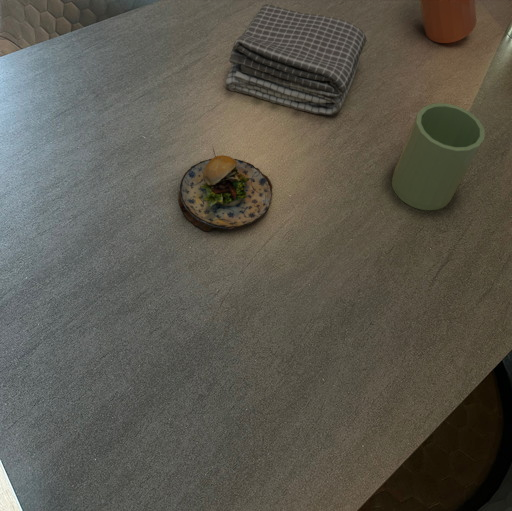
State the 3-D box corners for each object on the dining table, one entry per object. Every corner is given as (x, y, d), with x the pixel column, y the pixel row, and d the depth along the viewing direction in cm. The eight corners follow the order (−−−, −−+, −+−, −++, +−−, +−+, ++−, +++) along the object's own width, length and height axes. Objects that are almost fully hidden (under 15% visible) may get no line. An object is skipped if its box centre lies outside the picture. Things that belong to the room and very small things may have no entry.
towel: (338, 124, 91) (350, 79, 85) (219, 88, 93) (223, 42, 86) (360, 65, 100) (372, 21, 94) (251, 33, 102) (256, -12, 95)
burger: (205, 249, 75) (208, 208, 69) (162, 182, 80) (161, 139, 74) (289, 216, 79) (299, 175, 74) (243, 155, 85) (248, 112, 79)
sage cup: (439, 163, 88) (469, 102, 80) (461, 208, 84) (495, 148, 75) (383, 166, 87) (407, 104, 78) (402, 212, 82) (430, 152, 73)
